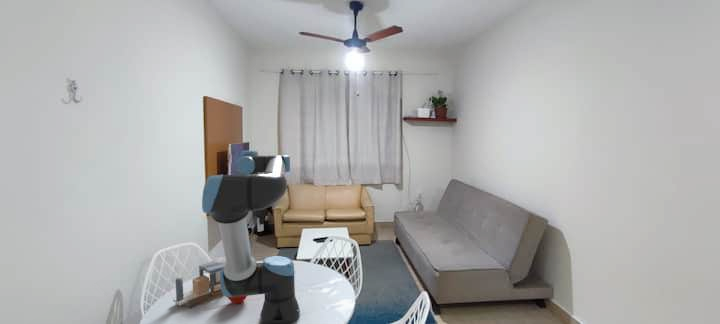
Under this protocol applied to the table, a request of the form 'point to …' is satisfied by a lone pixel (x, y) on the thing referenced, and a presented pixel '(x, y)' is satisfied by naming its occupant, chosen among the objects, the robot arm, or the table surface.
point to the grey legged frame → (214, 286)
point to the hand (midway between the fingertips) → (252, 228)
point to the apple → (237, 299)
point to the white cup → (222, 261)
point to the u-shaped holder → (199, 289)
